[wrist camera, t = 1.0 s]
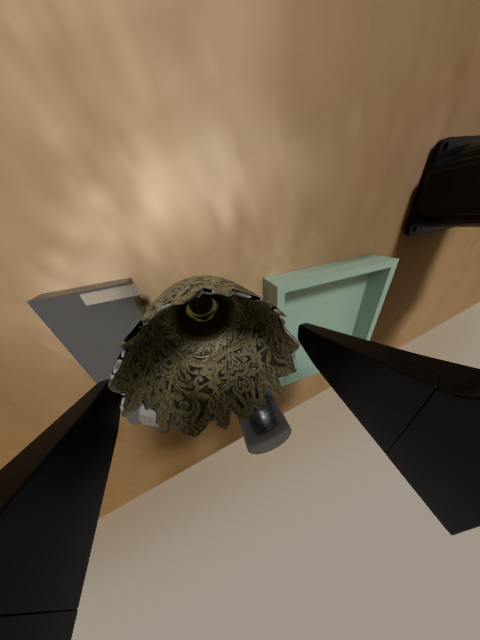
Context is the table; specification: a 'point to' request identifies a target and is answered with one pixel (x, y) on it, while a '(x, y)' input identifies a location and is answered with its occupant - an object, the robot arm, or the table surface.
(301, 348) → the tray
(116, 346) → the grey l-bracket
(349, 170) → the table surface
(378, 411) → the robot arm
